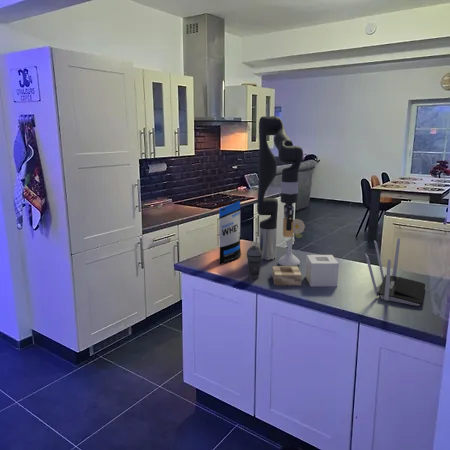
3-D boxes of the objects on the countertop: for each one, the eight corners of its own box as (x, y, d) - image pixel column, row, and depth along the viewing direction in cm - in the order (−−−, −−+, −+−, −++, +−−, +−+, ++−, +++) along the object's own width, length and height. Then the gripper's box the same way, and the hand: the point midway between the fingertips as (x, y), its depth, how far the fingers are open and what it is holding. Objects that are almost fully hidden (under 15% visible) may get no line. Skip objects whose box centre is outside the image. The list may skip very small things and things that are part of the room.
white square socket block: (305, 276, 190) (306, 254, 187) (330, 276, 189) (332, 254, 187) (310, 286, 178) (311, 263, 175) (337, 286, 178) (338, 263, 175)
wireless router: (420, 314, 151) (426, 265, 147) (358, 301, 162) (362, 255, 157) (425, 284, 180) (430, 242, 175) (372, 275, 191) (376, 235, 186)
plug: (282, 234, 182) (283, 213, 179) (291, 234, 182) (292, 213, 179) (283, 236, 178) (284, 215, 175) (292, 236, 178) (293, 215, 175)
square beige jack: (272, 275, 191) (272, 266, 190) (297, 275, 191) (297, 266, 189) (274, 285, 179) (275, 275, 178) (301, 285, 179) (301, 275, 178)
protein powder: (212, 263, 209) (211, 207, 202) (232, 250, 230) (232, 200, 222) (227, 265, 205) (227, 209, 197) (247, 252, 225) (248, 201, 218)
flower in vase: (276, 267, 202) (277, 220, 196) (280, 260, 212) (281, 215, 206) (301, 270, 198) (303, 222, 192) (304, 262, 208) (306, 216, 202)
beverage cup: (250, 273, 194) (251, 234, 189) (264, 276, 190) (264, 236, 185) (243, 278, 188) (243, 238, 183) (257, 281, 184) (258, 240, 179)
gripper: (279, 189, 182) (278, 225, 186) (282, 194, 168) (281, 233, 172) (295, 189, 181) (293, 225, 186) (300, 194, 168) (298, 233, 172)
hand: (288, 228), depth 179 cm, fingers closed on plug, 4 cm apart
